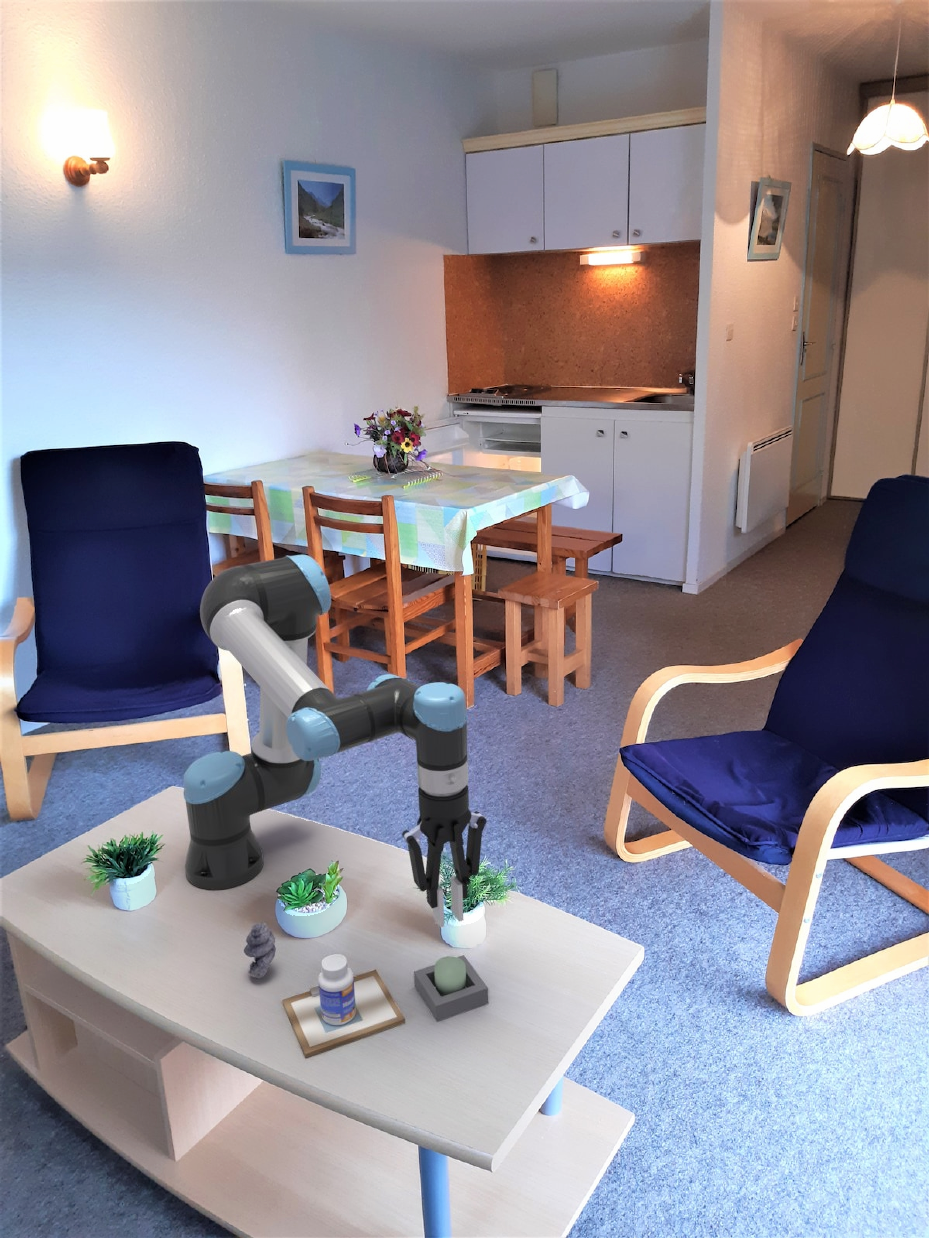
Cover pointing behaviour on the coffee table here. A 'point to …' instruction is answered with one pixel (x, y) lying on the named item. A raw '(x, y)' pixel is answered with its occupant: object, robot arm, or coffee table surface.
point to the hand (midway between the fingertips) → (448, 918)
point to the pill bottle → (336, 990)
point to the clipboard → (369, 1019)
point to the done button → (450, 975)
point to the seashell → (260, 949)
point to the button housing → (455, 1001)
